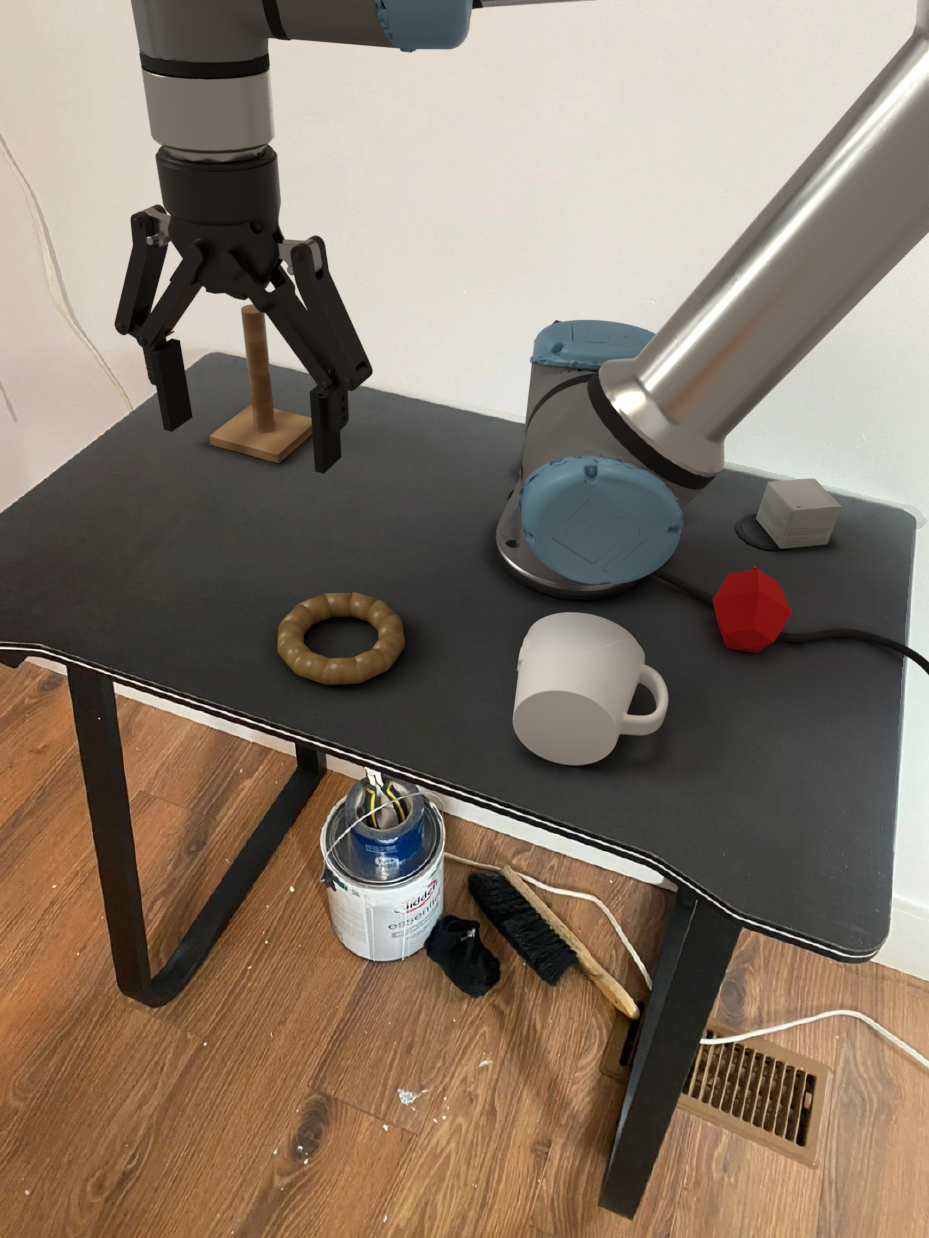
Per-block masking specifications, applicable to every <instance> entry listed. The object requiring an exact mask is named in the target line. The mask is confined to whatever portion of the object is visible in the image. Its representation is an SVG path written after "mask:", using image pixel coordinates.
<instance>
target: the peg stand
mask: <svg viewBox="0 0 929 1238" xmlns="http://www.w3.org/2000/svg"><path fill="white" fill-rule="evenodd" d="M240 314H241V321H242V333H243V338H244V340H243V341H244V349H245V358H246V367H247V376H248V383H249V394H250V395H249V396H250V404H248V406H246V407H245V408H244V409H242V410H241V411H239V412H238V413H237V414H236V415H235V416H233V417H232V418H231V419H229V420H228V421H227V422H225V423H224V424H223V425H221V426H220V427H219V428H217V429H216V430H215V431H214V432H213V433H211V434H210V435H209V442H210V445H211V446H214V447H217V448H221V449H224V450H229V451H232V452H235V453H240V454H243V455H247V456H249V457H254V458H257V459H261V460H265V461H268V462H272V463H275V464H280V463H281V462H283V461H284V460H285V459H286V458H287V457H288V456H289V455H291V454H292V453H293V452H294V451H296V449H297V448H298V447H299V446H301V445H302V444H303V443H304V442H305V441H306V440H308V438H310V437H312V436H313V435H312V421H311V416H307V415H302V414H298V413H294V412H290V411H287V410H283V409H279V408H275V407H274V397H273V388H272V387H273V386H272V375H271V365H270V357H269V355H270V353H269V346H268V345H269V344H268V335H267V322H266V314H265V313H262V312H260V311H258V310H257V309H256V308H255V306H254V305H253V303H251V304H246V305H243V306H241V308H240Z"/></svg>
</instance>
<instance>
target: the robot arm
mask: <svg viewBox="0 0 929 1238" xmlns="http://www.w3.org/2000/svg"><path fill="white" fill-rule="evenodd" d="M590 1H591V2H594V1H596V0H130V4H131V11H132V16H133V21H134V27H135V33H136V38H137V45H138V51H139V52H138V54H139V61H140V68H141V75H142V82H143V89H144V95H145V102H146V103H145V104H146V109H147V116H148V123H149V129H150V136H151V138H152V140H153V141H155V143H157V144H158V145H159V146H160V147H159V148H158V150H157V152H156V153H155V164H156V171H157V175H158V181H159V188H160V194H161V200H162V205H161V204H158V203H156V204H154V205H151V206H149V207H147V208H144V209H142V210H139V211H138V212H135V213H133V214H131V216H130V220H129V221H130V222H129V223H130V230H131V231H130V232H131V239H132V240H131V242H132V247H131V251H130V256H129V259H128V264H127V268H126V272H125V277H124V281H123V285H122V288H121V294H120V298H119V302H118V306H117V311H116V315H115V320H114V329H115V331H116V332H117V333H118V334H119V335H121V336H126V335H129V336H130V337H132V338H134V339H135V340H136V342H137V344H138V346H140V347H141V348H142V352H143V353H142V354H143V358H144V364H145V368H146V374H147V379H148V381H149V383H150V384H151V385H153V386H155V388H156V394H157V399H158V405H159V410H160V414H161V415H160V416H161V420H162V425H163V430H164V431H167V432H169V433H172V432H174V431H175V430H177V429H178V428H180V427H181V426H183V425H184V424H185V423H187V422H188V421H190V420H191V419H193V411H192V405H191V400H190V399H191V397H190V392H189V386H188V380H187V375H186V369H185V363H184V362H185V361H184V356H183V350H182V343H181V340H180V339H177V338H170V339H168V340H167V338H168V337H169V336H171V335H172V334H174V333H175V332H176V331H175V330H174V328H175V327H176V325H177V324H178V323H179V321H180V320H181V318H182V316H184V314H185V312H186V311H187V310H188V308H189V307H190V305H191V304H192V302H193V301H194V299H195V298H196V297H197V295H198V294H199V292H200V291H201V289H203V288H205V293H209V294H214V295H219V294H220V295H221V294H225V295H227V296H229V297H231V298H232V299H235V300H241V301H246V300H249V301H250V302H251V304H253V305H254V306H255V308H256V309H257V310H258V311H260V312H262V313H265V316H267V318H268V319H269V320H270V321H271V323H272V324H273V326H274V327H275V328H276V330H277V332H278V333H279V334H280V335H281V337H282V338H283V339H284V341H285V342H286V344H287V345H288V346H289V348H290V349H291V350H292V352H293V353H294V354H295V356H296V357H297V359H298V360H299V361H300V363H301V364H302V366H303V367H304V368H305V370H306V371H307V373H308V374H309V376H310V377H311V378H312V380H313V381H314V382H315V384H316V386H315V387H313V388H312V389H311V390H310V391H309V404H310V405H309V406H310V418H311V421H312V435H311V436H312V447H313V462H314V472H315V473H319V474H323V475H324V474H326V473H327V472H328V471H329V470H330V469H331V468H332V467H333V466H334V465H335V464H336V463H338V461H339V460H341V459H342V442H341V441H342V439H341V430H342V429H344V428H345V427H346V426H347V424H348V422H349V420H350V414H349V410H350V408H349V392H353V391H355V390H356V389H358V388H359V387H360V386H361V385H362V384H363V383H364V382H366V381H367V380H368V379H370V377H371V376H372V375H373V374H374V373H373V372H374V370H373V366H372V364H371V362H370V359H369V357H368V355H367V353H366V351H365V348H364V346H363V344H362V341H361V339H360V337H359V334H358V333H357V330H356V328H355V326H354V324H353V322H352V319H351V317H350V314H349V312H348V310H347V308H346V306H345V304H344V301H343V299H342V296H341V295H340V293H339V290H338V288H337V285H336V283H335V281H334V279H333V277H332V275H331V271H330V269H329V268H330V267H329V261H328V255H327V249H326V243H325V240H324V239H323V238H322V237H321V236H320V235H316V234H315V235H312V236H310V237H307V239H304V240H303V239H302V240H301V239H300V240H299V239H286V238H285V236H284V234H283V232H282V229H281V225H280V224H279V223H280V211H281V205H282V196H281V185H280V184H281V183H280V172H279V171H280V170H279V160H278V153H277V152H276V150H274V148H273V147H272V146H271V145H270V144H271V142H272V141H273V140H274V139H275V138H276V127H275V116H274V104H273V91H272V79H271V77H272V76H271V61H270V52H269V39H275V40H279V41H292V40H294V41H307V42H317V43H329V44H342V45H353V46H363V47H364V46H365V47H376V48H377V47H378V48H387V49H399V50H400V52H403V53H411V54H412V52H416V51H417V50H454V49H457V48H459V47H460V46H461V45H462V44H463V43H465V40H466V39H467V38H468V36H469V35H468V34H469V33H470V32H469V31H470V27H471V18H472V14H473V13H472V12H473V10H477V9H478V10H479V9H486V8H499V7H515V6H516V7H517V6H530V5H533V6H534V5H545V4H546V5H548V4H561V3H577V2H578V3H579V2H590ZM915 17H916V18H915V25H914V28H913V30H912V33H911V36H910V37H909V38H908V39H907V40H906V41H905V42H904V44H903V45H902V46H901V47H900V49H898V51H897V52H896V53H895V54H894V55H893V57H892V58H890V60H889V61H888V62H887V63H886V64H885V66H884V67H883V68H882V69H881V71H880V72H878V74H877V76H875V78H873V80H872V81H871V82H870V83H869V85H868V86H867V87H866V88H865V89H864V90H863V91H862V93H861V94H860V95H859V96H858V97H857V98H856V100H854V102H852V105H850V107H849V108H848V109H847V110H846V111H845V112H844V114H842V116H841V117H840V119H839V120H838V121H837V122H836V123H835V124H834V125H833V126H832V128H831V129H830V130H829V131H828V133H826V134H825V136H824V137H823V138H822V140H821V141H819V142H818V144H817V146H815V148H814V149H813V150H812V151H811V152H810V153H809V155H807V157H806V158H805V159H804V160H803V162H802V163H801V164H800V165H799V166H798V168H797V169H796V170H795V171H793V173H792V175H790V177H789V178H788V179H787V180H786V181H785V183H784V184H783V185H782V186H781V187H780V189H779V190H778V191H777V192H776V193H775V195H773V196H772V197H771V199H770V200H769V202H768V203H767V204H766V205H765V206H764V207H763V209H761V211H760V212H759V213H758V214H757V216H755V218H754V219H753V220H752V221H751V222H750V224H749V225H748V226H747V227H746V228H745V229H744V230H743V232H742V233H741V234H740V235H739V236H738V238H737V239H735V241H734V242H733V244H732V245H731V246H730V247H729V248H728V249H727V251H725V252H724V253H723V255H722V256H721V258H720V259H719V260H717V262H716V263H715V265H714V266H713V267H712V268H711V269H710V270H709V271H708V273H707V274H706V275H705V276H704V278H702V279H701V281H700V282H699V283H698V284H697V286H696V287H695V288H694V289H693V290H692V291H691V292H690V294H689V295H688V296H687V297H686V298H685V300H683V302H682V303H681V304H680V305H679V306H678V308H677V309H676V310H675V311H674V312H673V313H672V315H671V316H670V317H669V318H668V319H667V320H666V322H665V323H664V324H663V325H662V327H660V328H659V330H658V331H657V332H656V333H655V332H653V331H651V330H648V329H646V328H643V327H639V326H637V325H633V324H628V323H623V322H618V321H610V320H602V319H571V320H565V321H562V322H558V323H555V324H552V323H551V324H552V325H551V324H549V325H546V326H545V327H544V328H542V329H541V330H540V331H539V332H538V333H537V335H536V337H535V339H534V340H535V344H534V343H533V349H534V350H533V351H532V355H531V356H530V357H529V363H531V365H530V366H531V367H530V376H529V385H530V386H529V387H528V394H529V395H527V403H528V405H527V404H526V412H527V415H526V414H525V421H526V424H525V423H524V430H525V434H524V433H523V439H524V444H523V443H522V448H523V454H522V453H521V458H522V464H521V463H520V466H521V474H520V473H519V474H520V475H519V480H518V482H517V483H516V486H515V488H514V489H513V490H511V491H510V492H509V494H508V496H507V498H506V501H505V502H507V504H506V506H505V508H504V510H503V512H502V514H501V516H500V518H499V521H498V523H497V525H496V529H495V540H494V552H495V556H496V559H497V561H498V563H499V565H500V566H501V567H502V569H503V570H504V571H505V573H507V574H508V575H509V576H510V577H511V578H512V579H514V580H515V581H516V582H518V583H520V584H521V585H523V586H524V587H526V588H529V589H530V590H533V591H536V592H537V593H541V594H544V595H547V596H550V597H553V598H554V597H555V598H560V599H566V600H567V599H568V600H577V601H579V600H581V601H584V600H599V599H604V598H609V597H612V596H615V595H619V594H621V593H623V592H625V591H628V590H629V589H630V588H632V587H633V586H635V585H636V584H637V583H638V582H639V581H640V580H641V579H642V578H644V577H647V576H648V575H650V574H651V575H653V576H655V577H657V578H659V579H661V580H663V581H665V582H667V583H669V584H670V585H673V586H675V587H676V588H679V589H680V590H683V591H684V592H686V593H688V594H690V595H692V596H694V597H696V598H698V599H700V600H702V601H703V602H705V603H706V604H709V605H710V606H712V607H714V605H713V600H712V599H713V598H714V596H713V595H711V594H710V593H708V592H706V591H704V590H702V589H700V588H698V587H696V586H694V585H692V584H691V583H689V582H687V581H684V580H683V579H681V578H679V577H677V576H675V575H673V574H671V573H669V572H667V571H665V570H663V569H661V567H663V566H664V564H665V563H667V561H669V559H670V558H671V557H672V555H673V554H674V552H675V551H676V549H677V547H678V545H679V542H680V540H681V535H682V533H683V530H684V529H683V527H684V523H685V521H684V511H683V510H684V509H685V508H686V507H687V506H688V505H689V504H690V503H691V502H692V501H693V500H694V499H695V498H696V497H697V496H698V495H699V494H700V493H701V492H702V491H703V490H704V489H705V488H706V487H707V486H708V485H709V484H710V483H711V482H712V481H714V479H715V478H717V476H718V475H719V474H720V473H721V471H723V469H724V467H725V440H726V438H727V436H728V435H730V433H731V432H732V431H733V430H734V429H735V428H736V427H737V426H738V425H740V423H741V422H742V421H743V420H744V419H745V418H746V417H747V416H748V415H749V414H750V413H751V412H752V411H754V409H755V408H756V407H757V406H758V405H760V403H761V402H762V401H763V400H765V398H766V397H767V396H768V395H769V394H770V393H771V392H772V391H773V390H774V389H775V388H776V387H777V386H778V385H780V383H781V382H782V381H783V380H784V379H785V378H786V377H787V376H788V375H789V374H790V372H792V371H793V370H794V369H795V368H796V367H797V366H798V365H799V364H800V363H801V362H802V361H803V360H804V359H805V358H806V357H807V356H808V355H809V354H810V353H811V351H812V350H813V349H815V348H816V346H818V345H819V344H820V342H821V341H823V340H824V339H825V338H826V337H827V336H828V334H829V333H831V331H832V330H833V329H834V328H836V326H837V325H839V324H840V322H841V321H843V319H845V317H846V316H848V315H849V313H850V312H851V311H853V310H854V308H855V307H856V306H858V304H859V303H860V302H861V301H862V300H863V299H864V298H865V297H866V296H867V295H869V294H870V292H871V291H872V290H873V289H875V287H876V286H877V285H878V284H879V283H880V282H881V281H882V280H883V279H885V277H886V276H887V275H888V274H890V272H891V271H892V270H893V269H894V268H895V267H896V266H897V265H898V264H899V263H900V262H901V261H902V260H903V259H904V258H905V257H906V256H907V255H908V254H909V253H910V252H911V251H912V250H913V249H914V248H915V247H916V246H917V245H918V244H919V243H920V242H921V241H922V240H923V239H924V238H925V237H926V236H927V235H928V234H929V0H917V1H916V16H915ZM170 243H171V244H172V245H173V247H174V248H175V250H176V251H177V253H178V254H179V255H180V257H181V258H182V259H181V261H180V262H179V264H178V265H177V267H176V268H175V270H174V272H173V273H172V275H171V276H170V278H169V284H168V285H167V286H166V289H165V290H164V292H163V293H162V295H161V296H160V298H159V299H158V301H157V303H156V304H155V305H154V301H155V299H156V294H157V290H158V287H159V284H160V279H161V276H162V271H163V269H164V264H165V260H166V257H167V253H168V248H169V244H170ZM283 262H285V263H286V265H287V267H286V270H285V269H284V267H283V266H282V263H283ZM286 271H287V272H286ZM290 276H293V278H294V282H295V283H294V282H293V280H292V279H291V277H290ZM270 283H271V284H272V287H273V288H274V289H273V290H271V291H268V290H267V287H268V286H269V284H270ZM296 288H297V291H298V294H299V296H300V297H301V299H300V298H299V297H298V294H297V293H296ZM301 300H302V301H301ZM153 305H154V307H153ZM832 638H853V639H857V640H863V641H866V642H869V643H873V644H875V645H879V646H882V647H885V648H887V649H891V650H893V651H895V652H897V653H898V654H901V655H903V656H905V657H907V658H909V659H910V660H911V661H913V662H914V663H916V665H918V666H919V667H920V668H921V669H922V670H923V671H924V672H925V673H926V674H927V675H928V676H929V660H928V659H927V658H925V657H924V656H923V655H921V654H920V653H919V652H918V651H916V650H914V649H912V648H911V647H909V646H906V645H905V644H902V643H900V642H898V641H895V640H893V639H890V638H887V637H884V636H881V635H878V634H875V633H871V632H868V631H864V630H859V629H854V628H830V629H822V630H817V631H811V632H801V633H800V632H799V633H797V632H795V633H794V632H793V633H792V632H784V631H780V633H779V635H778V636H777V638H776V640H777V641H781V642H790V643H803V642H804V643H805V642H814V641H819V640H826V639H832Z"/></svg>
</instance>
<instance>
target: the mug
mask: <svg viewBox="0 0 929 1238" xmlns="http://www.w3.org/2000/svg"><path fill="white" fill-rule="evenodd" d="M645 663H646V656H645V652H644V649H643V648H642V646H641V645H640V644H639V642H638V641H637V639H636V638H635V637H634V636H633V635H632V634H631V633H630V632H629V631H628V630H627V629H626V628H624V627H623V626H621V625H619V624H618V623H616V622H614V621H612V620H610V619H607V618H604V617H603V616H600V615H595V614H591V613H587V612H586V613H585V612H576V611H572V612H571V611H569V612H568V611H567V612H557V613H552V614H550V615H547V616H544V617H542V618H540V619H538V620H536V622H533V624H532V625H531V626H530V628H529V629H528V631H527V633H526V635H525V637H524V638H523V642H522V645H521V647H520V650H519V654H518V660H517V667H516V672H517V680H516V689H515V690H516V691H515V698H514V706H513V715H512V726H513V727H512V728H513V730H514V733H515V735H516V737H517V738H518V739H519V741H520V742H521V744H522V745H524V747H526V748H527V749H528V750H529V751H530V752H532V753H533V754H534V755H536V756H538V757H540V758H542V759H544V760H546V761H549V762H552V763H556V764H559V765H565V766H567V765H568V766H584V765H585V766H586V765H589V764H593V763H597V762H599V761H601V760H603V759H604V758H606V757H607V756H609V754H611V752H613V750H614V749H615V747H616V745H617V742H618V740H619V737H620V735H627V736H648V735H650V734H653V733H655V732H656V731H658V730H659V729H660V728H661V726H662V725H663V723H664V721H665V718H666V713H667V710H668V707H669V692H668V688H667V685H666V682H665V680H664V678H663V677H662V676H661V674H660V673H659V672H658V671H657V670H656V669H654V668H653V667H651V666H649V665H647V664H645ZM638 684H639V685H640V684H641V685H643V686H644V687H645V688H647V689H648V690H649V691H650V693H651V694H652V696H653V698H654V702H655V710H654V711H653V712H652V713H649V714H646V715H638V714H637V715H636V714H628V711H629V709H630V706H631V703H632V700H633V699H634V698H633V697H634V695H635V692H636V689H637V686H638Z"/></svg>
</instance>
